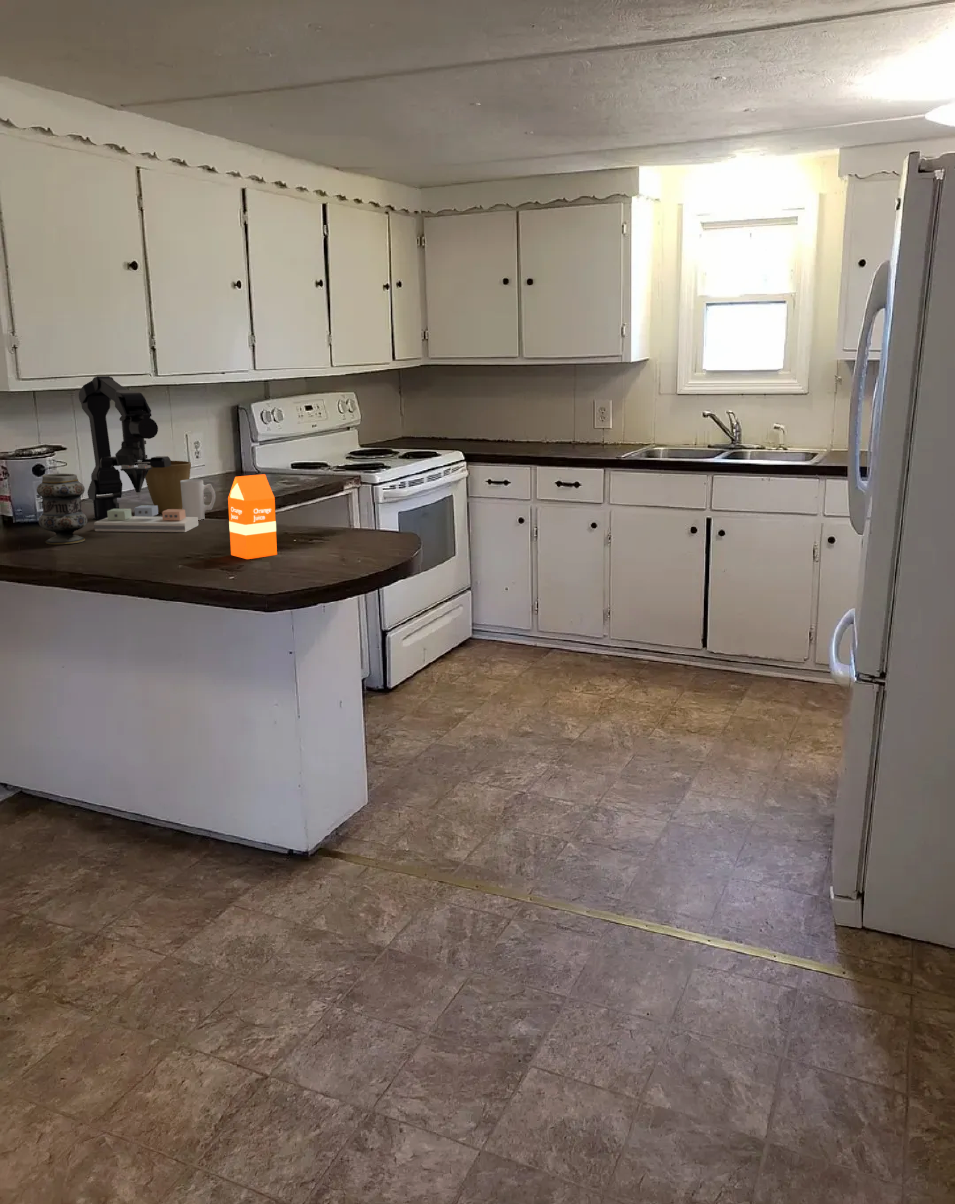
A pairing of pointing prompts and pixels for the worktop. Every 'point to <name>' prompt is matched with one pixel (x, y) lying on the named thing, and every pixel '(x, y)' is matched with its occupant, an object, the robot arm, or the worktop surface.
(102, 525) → the console
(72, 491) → the apothecary jar
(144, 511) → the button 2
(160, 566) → the worktop surface
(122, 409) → the robot arm
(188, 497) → the mug
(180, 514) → the orange block with buttons
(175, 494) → the plant pot
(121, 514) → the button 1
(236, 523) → the orange juice
